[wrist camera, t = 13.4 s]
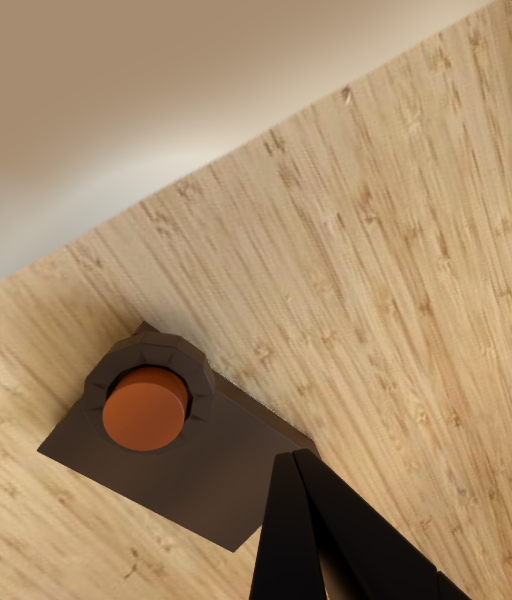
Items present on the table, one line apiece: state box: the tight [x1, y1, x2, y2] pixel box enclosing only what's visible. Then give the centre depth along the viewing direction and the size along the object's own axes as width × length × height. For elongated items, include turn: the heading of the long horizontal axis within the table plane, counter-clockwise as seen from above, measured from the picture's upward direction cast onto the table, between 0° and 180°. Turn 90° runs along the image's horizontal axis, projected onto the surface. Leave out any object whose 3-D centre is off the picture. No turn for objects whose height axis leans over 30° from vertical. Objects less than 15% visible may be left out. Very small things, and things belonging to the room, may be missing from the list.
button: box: [103, 367, 188, 451], centre depth 16 cm, size 4×4×2 cm
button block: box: [37, 321, 322, 553], centre depth 19 cm, size 16×11×4 cm
